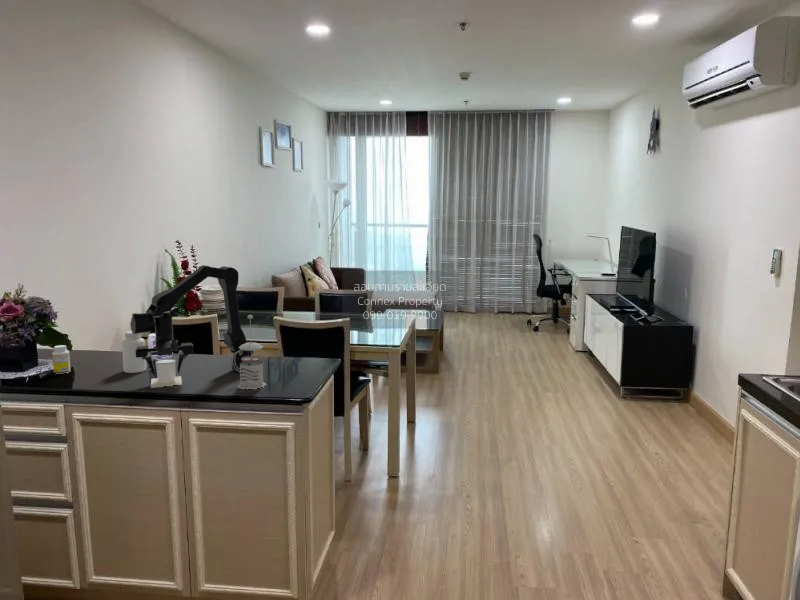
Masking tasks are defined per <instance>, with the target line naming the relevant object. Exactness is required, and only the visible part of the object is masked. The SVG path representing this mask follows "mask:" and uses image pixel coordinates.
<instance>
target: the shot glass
mask: <svg viewBox="0 0 800 600" xmlns="http://www.w3.org/2000/svg"><path fill="white" fill-rule="evenodd" d="M154 364H155V365H154V366H155V369H156V376H157V377H156V378H158V382H160V383H169V382H173V381H175V377H176V373H177V372H176V369H177V360H176V359H174V358H173V359H172V358H163V359H159V360H156V361H155V362H154Z"/></svg>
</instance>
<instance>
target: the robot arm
mask: <svg viewBox="0 0 800 600" xmlns="http://www.w3.org/2000/svg"><path fill="white" fill-rule="evenodd" d="M207 278H213V279H214V278H215V279H217V282H218V284H219V286H220V288H221V290H222V292H223V299H224V306H225V307H224V308H225V313H226V314H225V315H226V322H227V331H226V332H224V333H222V335H223V339H224V341H223V344H224V345H226V348H227V349H229V350H230V352H231V354H232V357H231V360H232V358H233V363H232V362H231V369H232V370H233V372H234V373H240V372H239V371H240V363H241V365H242V362H243V361H241V358H243V357H247V356H251V351H245V350H242V354H241V351H240V354H241V355H240V354H239V352H238V353H237V354H236V356H235V355H234V354H235V353H236V352H237V351H239V350H240V348H239V347H240V346H241V345H243V344H245V343H248V340H247V337H246V334H245V333H244V331H243V329H242V327H241V319H240V311H239V305H238V304H239V303H238V297H237V296H238V295H237V289H238V285H239V272H238V270H237V269H236V268H234V267H230V266H221V267H219V268H218V267H214V266H209V265H205V264H204V265H200V266H199V267H198V268H197V269H196V270H194V271H193V272H192V273H191V274H189V275H188V276H186V277H185V278H183V279H182V280H181V281H179V282H178V283H177V284H175V285H174V286H172V287H170V288H168V289H164V290H162V291H160V292H159V293H157V294H155V295H153V297H152V298H151V304H149V305H150V306H148V308H147V310H146V311H145V312H143V313H137V312H135V313H134V312H133V313H132V314H131V316H132V317H131V319H130V331H132V333H133V334H137V333H140V334H144V333H150V332H151V333H152V331H153V330H154V331H155V335H154V336H155V347H149V345H145V346H138V347H137V348H136V357H137V358H138V357H142V359H145V360H146V363H147V364H148V366H149V369H150V371H151V372H152V376H155V375H156V374H155V365H154V362H153V361H154V360H153V354H157V356H158V357H163V356H172V355H173V354H174V353H175V352H176V353H178V357H177V367H176V369H177V374H179V373H180V371H181V367H182V364H183V362H184V359H185V357H187V356H189V355H190V354H194V352H195V351H194V344H193V343H192V342H182V343H181V344H180V346H179V339H174V328H173V327H174V326H173V318H177V317H179V314H178V313H177V312H175V310H173V309H174V307H175V306H176V305H177V304H178V303H179V301H180V300H181V299H182V297H183V296H185V295H186V294H188V292H190V291H191V290H192V289H194V288H195V287H197V286H198V285H199V284H200V283H202V282H203V281H205V280H206V279H207ZM253 354H254V351H252V355H253ZM233 355H234V357H235V362H234V357H233ZM235 363H236V365H237V367H238V368H239V369H238V368H237V367H236V365H235ZM233 364H234V366H233ZM250 365H252V363H251V364H248V365H247V366H250ZM234 367H235V368H236V369H237V370H238V371H237V370H236V369H235V368H234ZM241 370H242V368H241ZM247 370H248V369H247Z"/></svg>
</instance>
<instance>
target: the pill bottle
mask: <svg viewBox="0 0 800 600" xmlns="http://www.w3.org/2000/svg"><path fill="white" fill-rule="evenodd" d="M124 337H125V339H123V340H122V343H121V351H122V367H123V372H125V373H126V374H138V373H142V372H144V371H146V370H147V361H146V360H145V359H142V357H138V358H137V357H136V348H137V347H138V346H146V341H145V339H144V338H142V337H141V333H137V334H133V333H132V331H131V330H128V331H125V332H124Z"/></svg>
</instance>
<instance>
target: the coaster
mask: <svg viewBox="0 0 800 600" xmlns="http://www.w3.org/2000/svg"><path fill="white" fill-rule="evenodd" d="M150 381H151V382H150V388H151V389H153V388H154V389H155V388H165V387H164V386H167V387H174V386H173V385H179V386H183V382H182V376H181V375H180V376H177V375H176V376H175V381H173V382H169V383H160V382H158V378H157V377H156V378H155V377H154V378H153V377H152V378H151V380H150Z"/></svg>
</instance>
